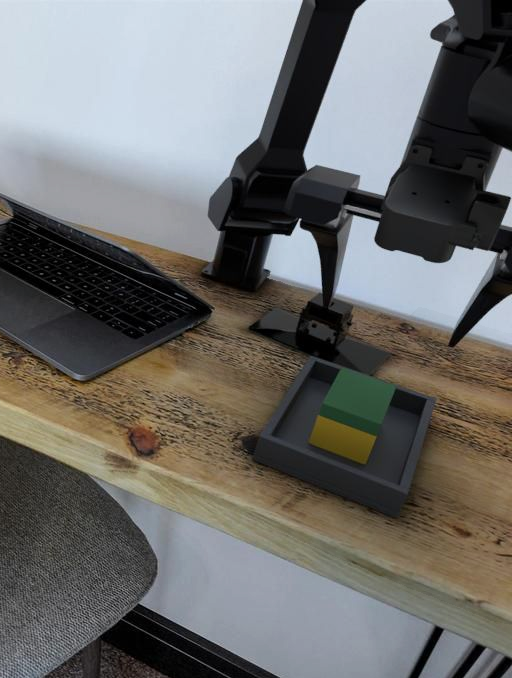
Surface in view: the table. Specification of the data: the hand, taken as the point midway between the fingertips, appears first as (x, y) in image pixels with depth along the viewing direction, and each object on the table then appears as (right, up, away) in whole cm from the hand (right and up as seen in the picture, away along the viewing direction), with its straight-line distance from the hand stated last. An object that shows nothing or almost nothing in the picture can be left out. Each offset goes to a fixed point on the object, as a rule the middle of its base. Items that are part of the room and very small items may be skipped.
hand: (387, 325), depth 63 cm
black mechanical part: (+2, -2, +20) cm, 20 cm away
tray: (-1, -9, +6) cm, 11 cm away
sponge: (-1, -9, +5) cm, 10 cm away
